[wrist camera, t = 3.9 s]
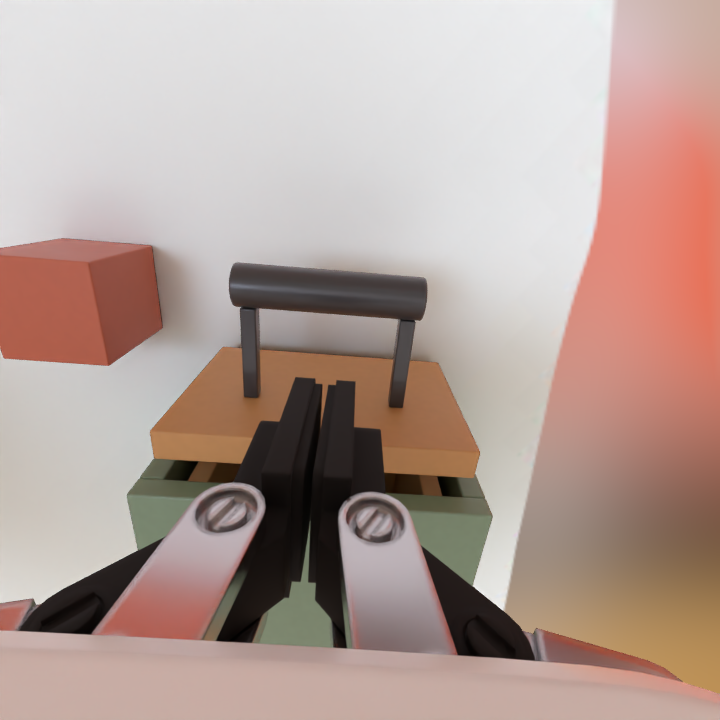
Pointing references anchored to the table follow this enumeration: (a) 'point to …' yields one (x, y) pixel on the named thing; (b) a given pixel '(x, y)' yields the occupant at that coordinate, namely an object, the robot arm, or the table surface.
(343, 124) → the table surface
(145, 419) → the table surface
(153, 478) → the cabinet
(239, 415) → the drawer
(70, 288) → the block
